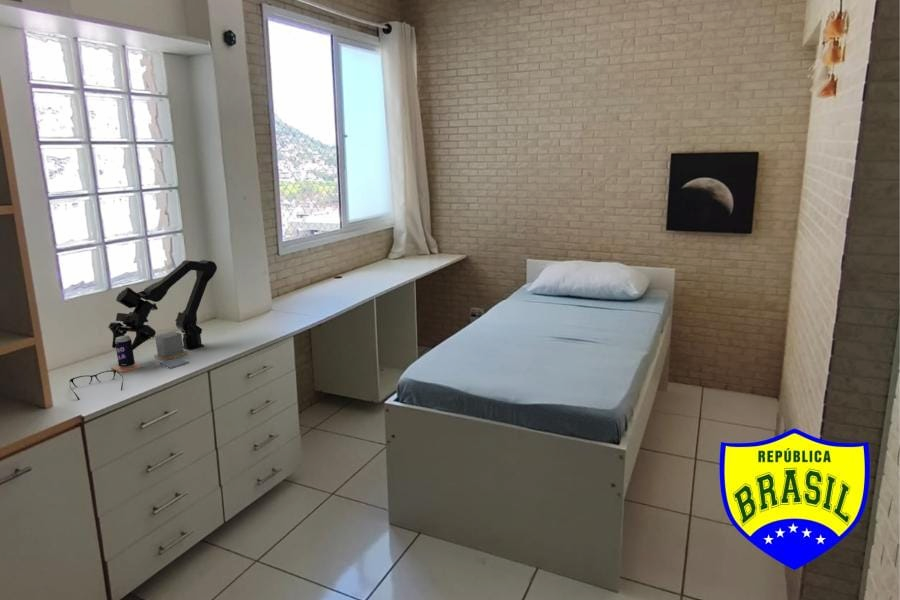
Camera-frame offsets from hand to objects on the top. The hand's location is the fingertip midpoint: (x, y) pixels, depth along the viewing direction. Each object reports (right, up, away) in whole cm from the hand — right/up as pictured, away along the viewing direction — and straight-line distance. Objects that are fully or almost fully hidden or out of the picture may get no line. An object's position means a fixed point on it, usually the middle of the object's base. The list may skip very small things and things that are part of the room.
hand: (122, 348), depth 237 cm
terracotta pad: (0, -8, +2) cm, 8 cm away
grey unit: (+12, -4, +16) cm, 20 cm away
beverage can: (+1, -7, +3) cm, 8 cm away
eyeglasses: (+1, -14, -18) cm, 23 cm away
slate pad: (+18, -7, +6) cm, 20 cm away
